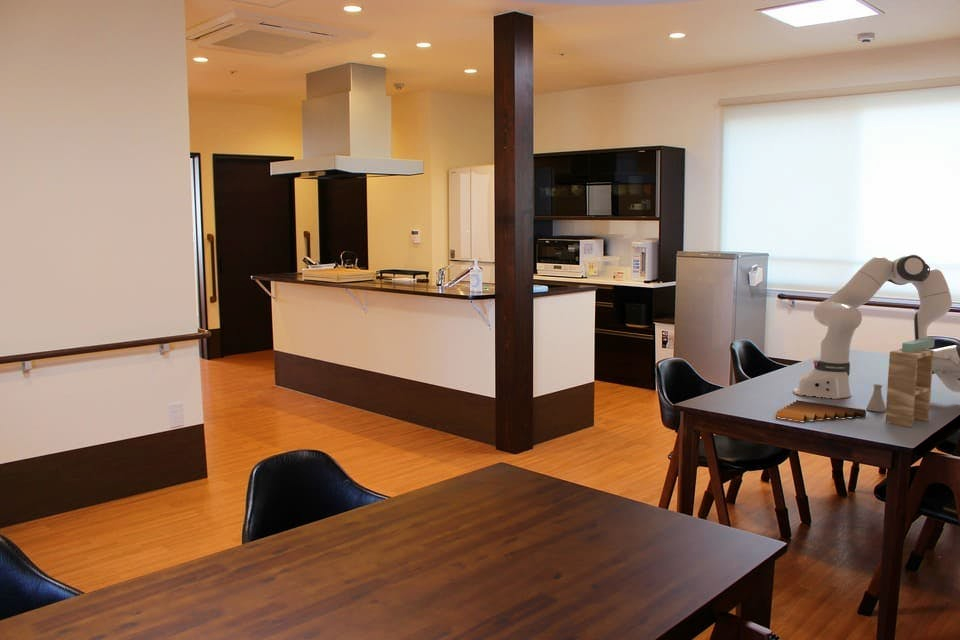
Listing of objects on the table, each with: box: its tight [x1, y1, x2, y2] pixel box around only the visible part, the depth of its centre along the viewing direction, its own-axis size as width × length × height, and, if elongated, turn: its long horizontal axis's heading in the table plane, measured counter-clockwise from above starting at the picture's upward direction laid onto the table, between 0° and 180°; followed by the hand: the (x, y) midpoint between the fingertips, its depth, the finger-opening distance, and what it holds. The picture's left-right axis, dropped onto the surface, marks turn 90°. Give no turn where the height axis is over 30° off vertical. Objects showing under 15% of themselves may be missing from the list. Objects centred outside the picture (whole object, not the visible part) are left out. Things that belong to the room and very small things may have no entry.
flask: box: [865, 383, 886, 413], centre depth 305 cm, size 7×7×10 cm
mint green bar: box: [901, 337, 936, 353], centre depth 289 cm, size 20×3×3 cm, turn 130°
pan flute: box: [775, 399, 867, 421], centre depth 295 cm, size 25×3×25 cm
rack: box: [884, 348, 934, 428], centre depth 287 cm, size 15×9×26 cm, turn 130°
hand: (937, 355), depth 301 cm, fingers open, 8 cm apart
